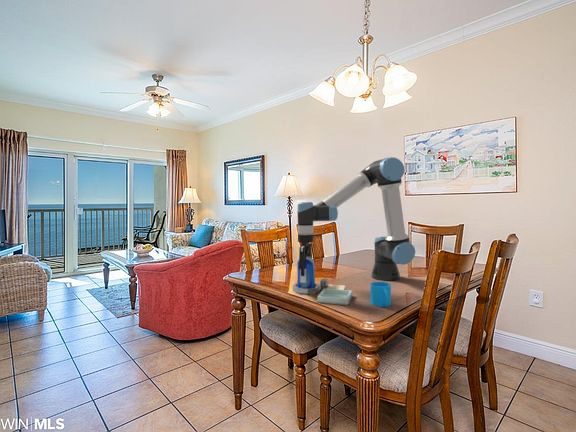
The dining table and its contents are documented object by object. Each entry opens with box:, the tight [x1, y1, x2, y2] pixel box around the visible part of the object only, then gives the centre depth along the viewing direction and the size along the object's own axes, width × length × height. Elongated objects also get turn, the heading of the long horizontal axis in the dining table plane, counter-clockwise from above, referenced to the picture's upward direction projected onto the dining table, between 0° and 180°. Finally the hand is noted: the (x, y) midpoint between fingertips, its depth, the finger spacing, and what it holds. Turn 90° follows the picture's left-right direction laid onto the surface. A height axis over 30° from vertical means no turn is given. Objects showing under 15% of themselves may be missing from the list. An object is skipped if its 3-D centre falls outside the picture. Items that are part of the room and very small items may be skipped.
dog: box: [319, 278, 329, 292], centre depth 151 cm, size 3×4×5 cm
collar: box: [292, 282, 320, 295], centre depth 152 cm, size 12×12×2 cm
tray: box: [316, 288, 353, 306], centre depth 138 cm, size 13×13×2 cm
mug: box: [370, 281, 392, 307], centre depth 129 cm, size 12×8×8 cm
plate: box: [327, 283, 346, 290], centre depth 149 cm, size 8×8×2 cm
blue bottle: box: [296, 256, 316, 288], centre depth 152 cm, size 8×8×16 cm
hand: (306, 279), depth 152 cm, fingers open, 9 cm apart
